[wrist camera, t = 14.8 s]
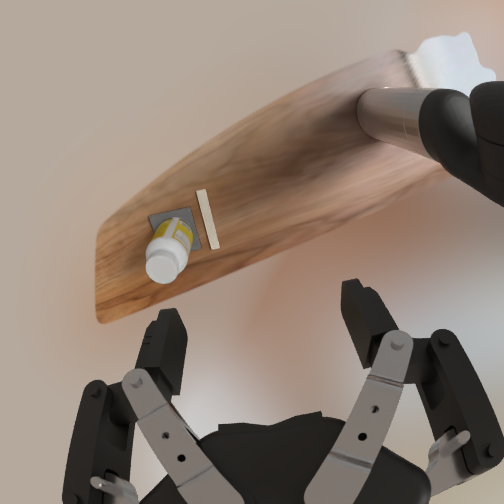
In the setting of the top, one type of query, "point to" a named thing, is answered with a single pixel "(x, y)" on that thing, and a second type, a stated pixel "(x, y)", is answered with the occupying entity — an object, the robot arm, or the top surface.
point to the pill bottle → (169, 250)
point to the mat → (179, 213)
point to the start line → (208, 218)
